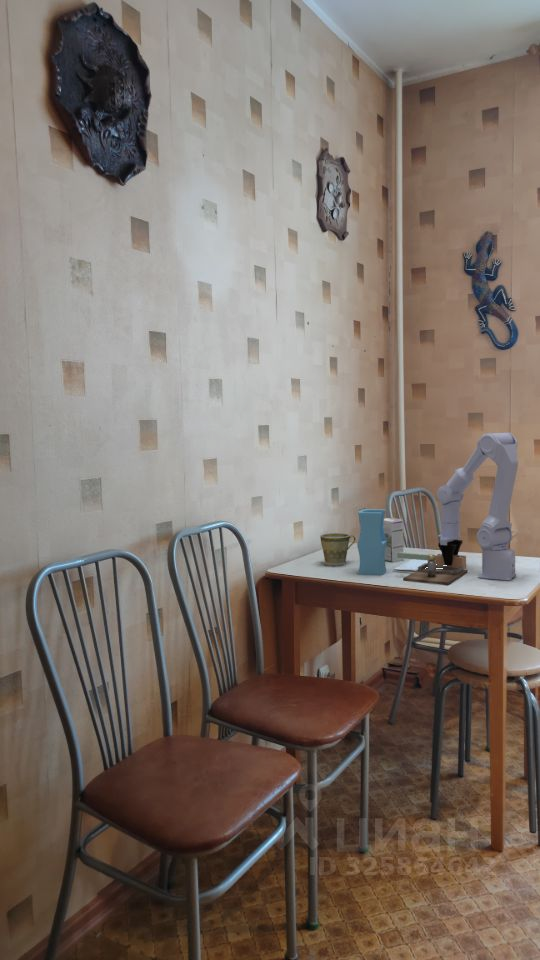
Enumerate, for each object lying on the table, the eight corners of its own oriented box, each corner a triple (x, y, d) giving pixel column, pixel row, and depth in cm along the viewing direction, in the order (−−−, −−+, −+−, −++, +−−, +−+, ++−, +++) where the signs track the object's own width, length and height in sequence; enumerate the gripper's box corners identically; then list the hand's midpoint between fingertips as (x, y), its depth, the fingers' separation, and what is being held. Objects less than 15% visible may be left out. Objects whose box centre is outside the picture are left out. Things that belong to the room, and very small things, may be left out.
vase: (382, 575, 223) (381, 512, 222) (357, 574, 226) (356, 512, 224) (387, 570, 231) (386, 509, 229) (363, 569, 234) (362, 509, 232)
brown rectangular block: (466, 567, 231) (466, 555, 231) (462, 570, 228) (462, 557, 228) (439, 565, 236) (439, 553, 236) (435, 567, 233) (435, 555, 232)
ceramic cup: (329, 568, 237) (329, 538, 236) (315, 563, 246) (315, 534, 245) (363, 564, 242) (362, 535, 241) (348, 559, 251) (347, 531, 250)
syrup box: (404, 560, 247) (403, 518, 245) (391, 562, 243) (391, 520, 242) (392, 557, 251) (392, 517, 250) (380, 560, 248) (379, 518, 247)
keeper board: (467, 572, 225) (467, 555, 224) (448, 585, 209) (448, 566, 208) (425, 568, 232) (425, 551, 232) (403, 580, 216) (403, 562, 216)
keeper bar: (436, 560, 217) (436, 554, 217) (433, 561, 215) (433, 556, 215) (399, 556, 223) (399, 551, 223) (396, 558, 221) (396, 553, 221)
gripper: (445, 518, 239) (445, 558, 240) (430, 524, 227) (431, 566, 228) (466, 519, 235) (466, 560, 236) (452, 526, 223) (452, 568, 224)
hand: (450, 563), depth 232 cm, fingers closed on brown rectangular block, 4 cm apart
